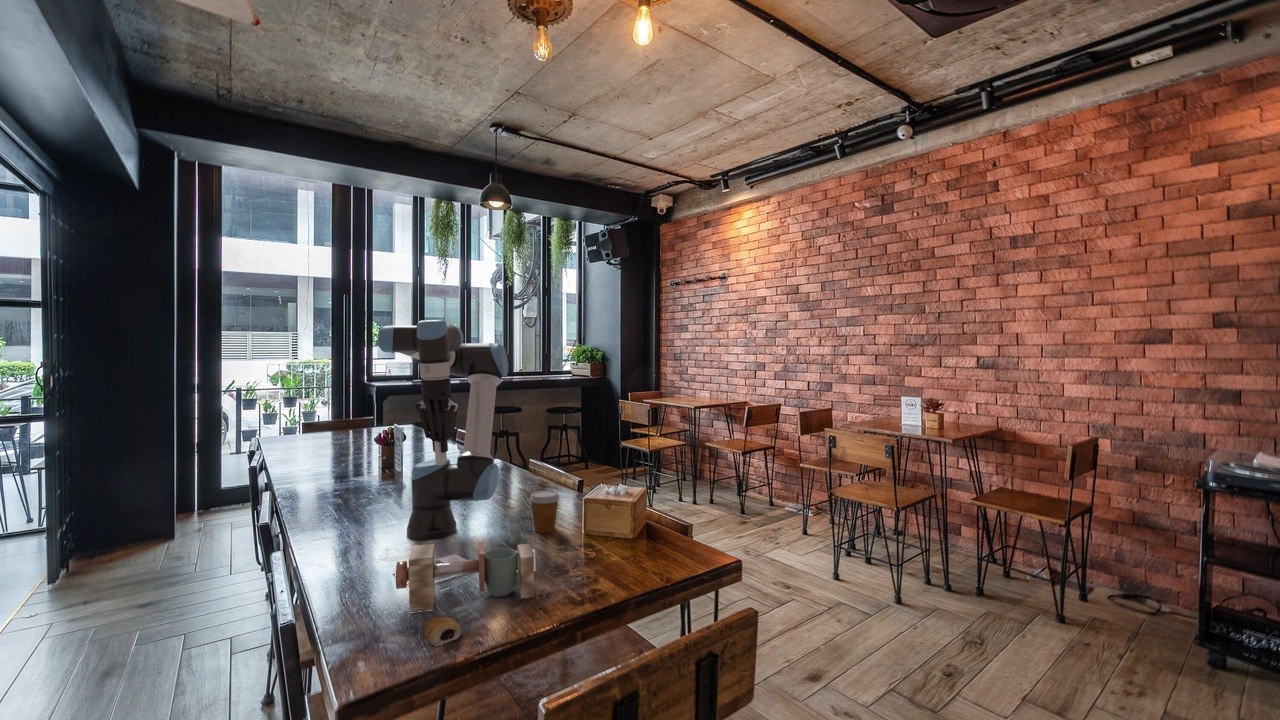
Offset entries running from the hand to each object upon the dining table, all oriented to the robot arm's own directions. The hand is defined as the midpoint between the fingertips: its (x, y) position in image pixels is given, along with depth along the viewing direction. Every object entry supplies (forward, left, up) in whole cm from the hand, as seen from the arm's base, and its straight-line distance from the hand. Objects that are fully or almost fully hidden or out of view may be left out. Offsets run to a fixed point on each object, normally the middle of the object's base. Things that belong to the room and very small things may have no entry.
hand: (441, 463), depth 154 cm
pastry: (+22, -30, -29) cm, 48 cm away
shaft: (+12, -17, -26) cm, 33 cm away
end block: (+29, -6, -29) cm, 41 cm away
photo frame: (0, -3, -29) cm, 30 cm away
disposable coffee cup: (+12, +37, -29) cm, 48 cm away
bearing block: (+9, -19, -29) cm, 36 cm away
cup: (+24, -9, -29) cm, 38 cm away
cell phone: (+18, +11, -29) cm, 36 cm away
